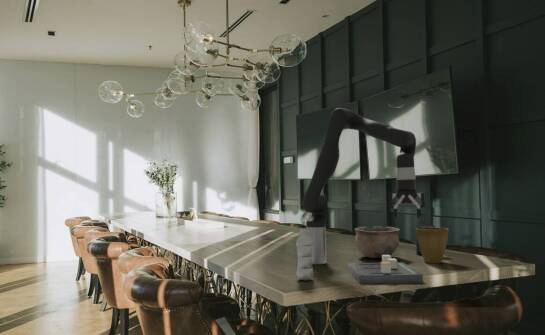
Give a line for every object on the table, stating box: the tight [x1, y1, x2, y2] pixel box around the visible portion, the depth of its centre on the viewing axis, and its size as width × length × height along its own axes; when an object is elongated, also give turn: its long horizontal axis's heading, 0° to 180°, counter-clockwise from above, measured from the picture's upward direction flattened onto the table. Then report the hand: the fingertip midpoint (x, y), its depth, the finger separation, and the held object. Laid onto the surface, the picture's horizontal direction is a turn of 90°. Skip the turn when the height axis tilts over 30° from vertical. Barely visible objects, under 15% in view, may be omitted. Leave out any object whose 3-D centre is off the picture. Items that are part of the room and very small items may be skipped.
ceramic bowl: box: [354, 225, 400, 259], centre depth 242 cm, size 22×22×15 cm
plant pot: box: [415, 227, 450, 264], centre depth 227 cm, size 15×15×16 cm
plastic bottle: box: [295, 228, 315, 282], centre depth 188 cm, size 6×7×20 cm
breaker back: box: [381, 255, 392, 262], centre depth 205 cm, size 3×4×3 cm
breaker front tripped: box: [380, 261, 391, 273], centre depth 185 cm, size 3×4×4 cm
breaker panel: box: [347, 262, 424, 284], centre depth 195 cm, size 24×28×3 cm
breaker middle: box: [387, 257, 398, 269], centre depth 195 cm, size 3×4×3 cm
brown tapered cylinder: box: [415, 224, 436, 257], centre depth 250 cm, size 10×10×15 cm
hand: (407, 217), depth 198 cm, fingers open, 8 cm apart
